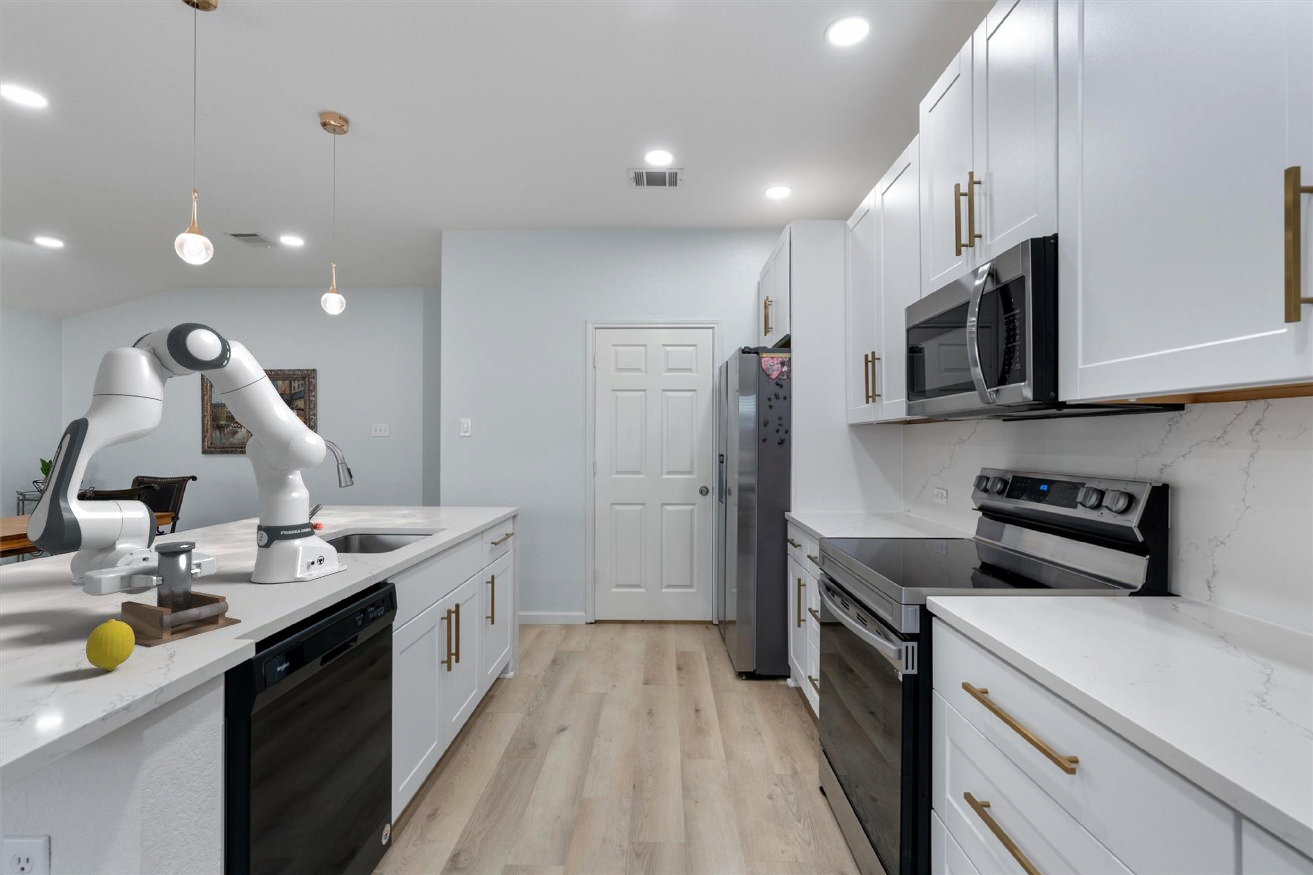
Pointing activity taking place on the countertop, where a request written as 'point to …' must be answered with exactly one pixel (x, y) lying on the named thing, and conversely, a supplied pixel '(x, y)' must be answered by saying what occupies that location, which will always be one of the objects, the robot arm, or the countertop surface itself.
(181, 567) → the hinge pin
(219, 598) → the brown wooden holder
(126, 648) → the lemon
